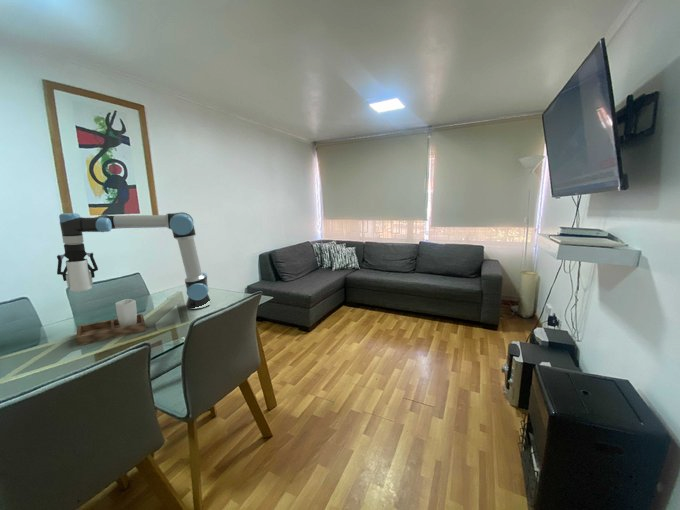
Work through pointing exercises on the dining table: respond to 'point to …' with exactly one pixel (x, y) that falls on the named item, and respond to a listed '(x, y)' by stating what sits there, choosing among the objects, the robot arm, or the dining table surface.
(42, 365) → the dining table surface
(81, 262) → the cup
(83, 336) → the tray
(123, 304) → the cup
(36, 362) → the dining table surface
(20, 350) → the dining table surface
